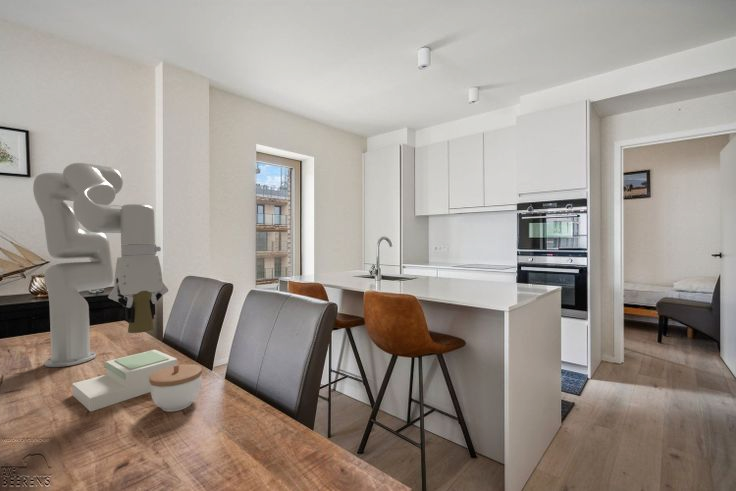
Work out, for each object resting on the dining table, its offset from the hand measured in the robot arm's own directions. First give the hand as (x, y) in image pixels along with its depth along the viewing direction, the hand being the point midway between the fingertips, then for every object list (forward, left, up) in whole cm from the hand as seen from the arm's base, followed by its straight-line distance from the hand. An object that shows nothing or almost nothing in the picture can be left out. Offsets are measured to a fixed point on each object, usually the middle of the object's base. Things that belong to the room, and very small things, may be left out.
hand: (140, 319), depth 93 cm
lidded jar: (+20, 0, -18) cm, 27 cm away
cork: (0, 0, -3) cm, 3 cm away
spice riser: (0, -3, -17) cm, 18 cm away
